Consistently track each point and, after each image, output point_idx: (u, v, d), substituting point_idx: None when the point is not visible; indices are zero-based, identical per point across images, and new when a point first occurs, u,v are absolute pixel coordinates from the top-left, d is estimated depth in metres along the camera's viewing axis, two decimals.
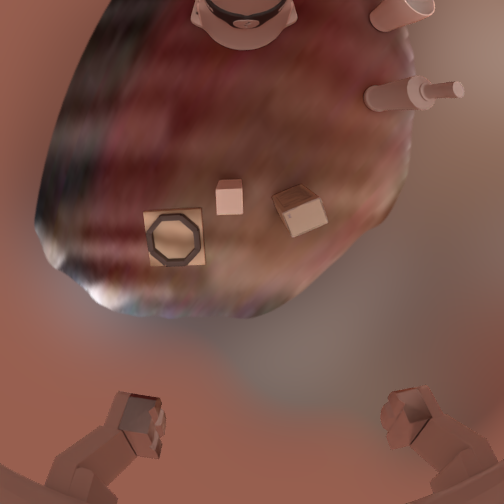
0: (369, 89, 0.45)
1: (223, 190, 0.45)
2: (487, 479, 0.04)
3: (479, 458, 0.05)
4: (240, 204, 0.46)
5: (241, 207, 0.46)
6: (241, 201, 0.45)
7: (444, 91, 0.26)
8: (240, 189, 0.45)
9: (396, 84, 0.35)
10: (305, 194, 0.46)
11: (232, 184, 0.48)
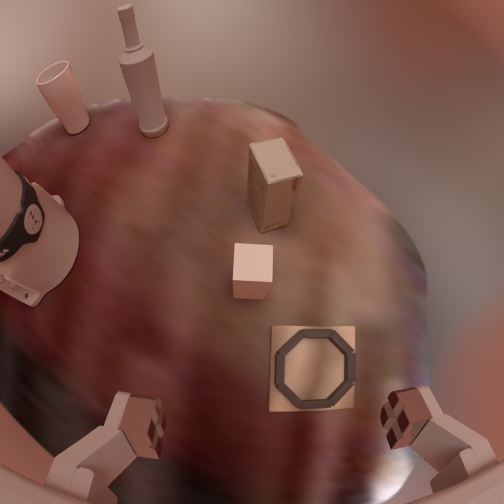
0: (142, 129, 0.46)
1: (235, 269, 0.31)
2: (487, 479, 0.04)
3: (479, 458, 0.05)
4: (258, 247, 0.32)
5: (262, 246, 0.32)
6: (253, 245, 0.32)
7: (127, 20, 0.27)
8: (236, 245, 0.32)
9: (128, 82, 0.36)
10: (250, 173, 0.37)
11: None
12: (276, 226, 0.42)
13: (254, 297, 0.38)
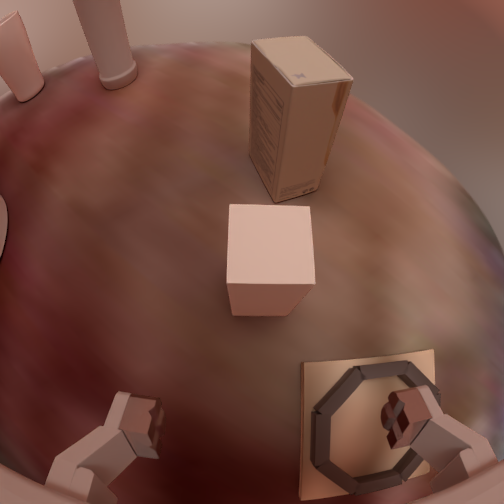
0: (102, 78, 0.29)
1: (231, 258, 0.14)
2: (487, 479, 0.04)
3: (479, 458, 0.05)
4: (279, 211, 0.15)
5: (289, 209, 0.15)
6: (270, 208, 0.15)
7: None
8: (232, 209, 0.15)
9: (79, 10, 0.19)
10: (255, 96, 0.19)
11: None
12: (300, 191, 0.25)
13: (270, 313, 0.21)
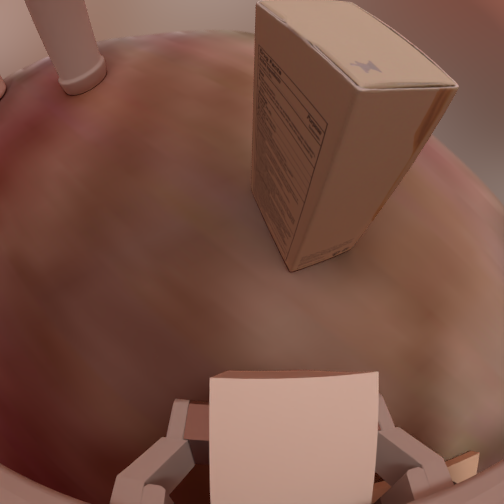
0: (61, 80, 0.21)
1: (218, 488, 0.05)
2: (487, 479, 0.04)
3: (430, 479, 0.05)
4: (318, 392, 0.06)
5: (338, 384, 0.06)
6: (298, 385, 0.06)
7: None
8: (216, 389, 0.06)
9: None
10: (262, 102, 0.11)
11: None
12: (329, 254, 0.16)
13: None
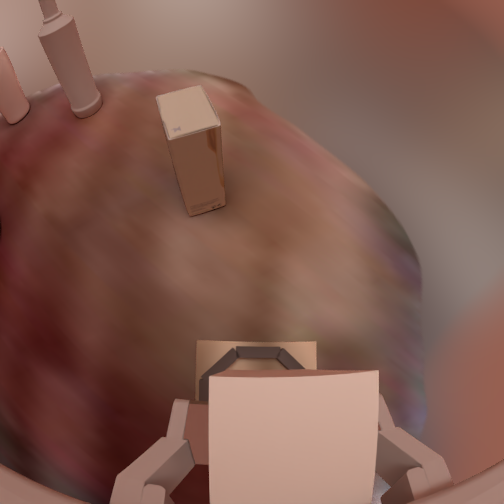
0: (73, 108, 0.35)
1: (218, 487, 0.05)
2: (487, 479, 0.04)
3: (430, 479, 0.05)
4: (318, 391, 0.06)
5: (338, 383, 0.06)
6: (298, 384, 0.06)
7: None
8: (215, 388, 0.06)
9: (49, 56, 0.25)
10: None
11: None
12: (209, 207, 0.31)
13: None
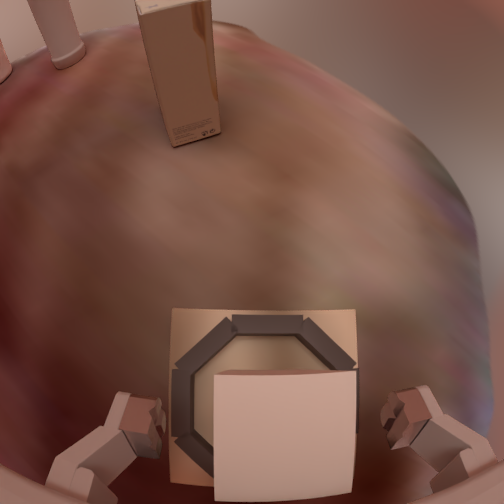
0: (52, 59, 0.27)
1: (221, 468, 0.07)
2: (487, 479, 0.04)
3: (479, 458, 0.05)
4: (304, 387, 0.08)
5: (321, 380, 0.08)
6: (287, 381, 0.08)
7: None
8: (219, 384, 0.08)
9: (29, 0, 0.17)
10: None
11: None
12: (198, 133, 0.22)
13: None
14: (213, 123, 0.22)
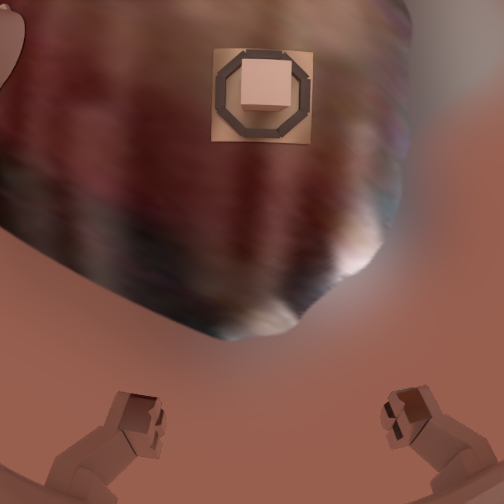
0: None
1: (243, 90, 0.22)
2: (487, 479, 0.04)
3: (479, 458, 0.05)
4: (272, 63, 0.21)
5: (278, 62, 0.21)
6: (266, 61, 0.21)
7: None
8: (243, 61, 0.21)
9: None
10: None
11: None
12: None
13: (268, 110, 0.29)
14: None
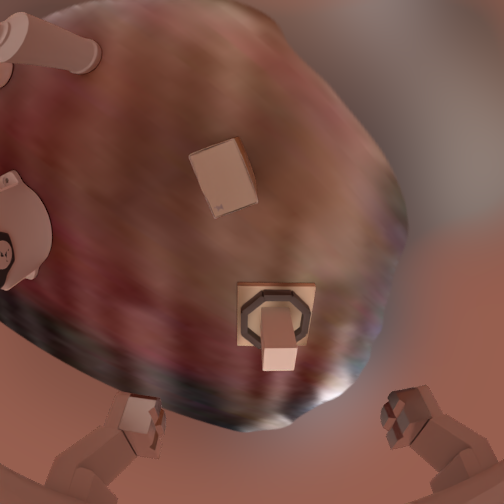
0: (70, 70, 0.28)
1: (264, 364, 0.36)
2: (487, 479, 0.04)
3: (479, 458, 0.05)
4: (284, 350, 0.35)
5: (288, 349, 0.35)
6: (281, 349, 0.35)
7: None
8: (265, 350, 0.35)
9: None
10: None
11: (262, 338, 0.39)
12: None
13: None
14: None
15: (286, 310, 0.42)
